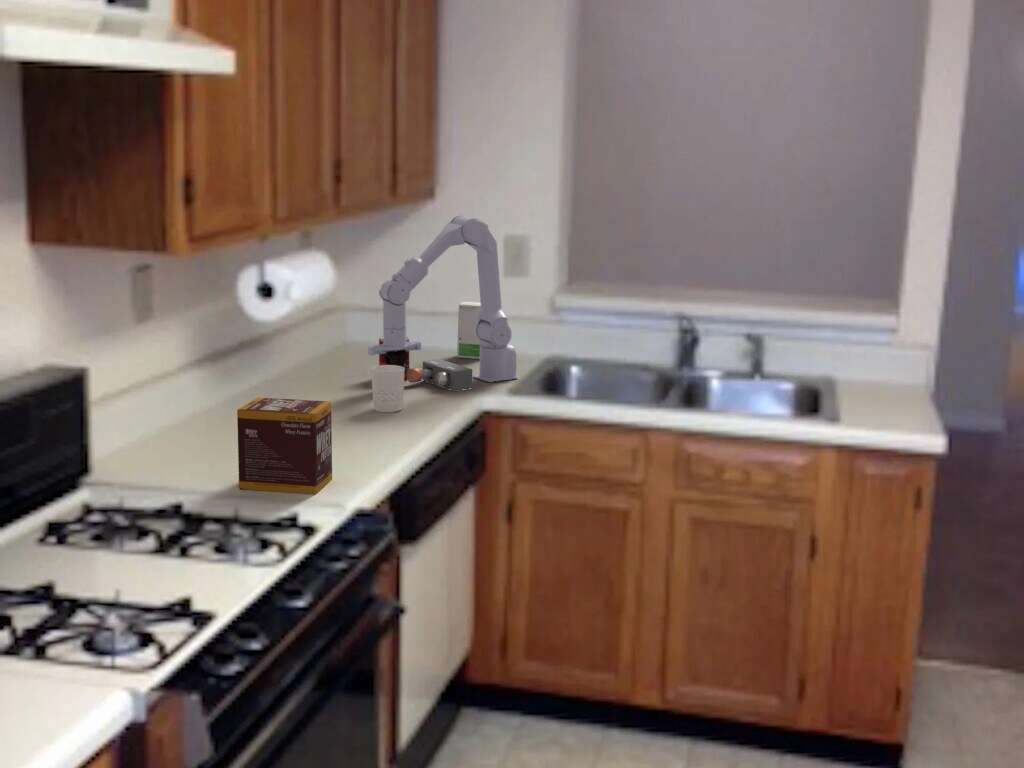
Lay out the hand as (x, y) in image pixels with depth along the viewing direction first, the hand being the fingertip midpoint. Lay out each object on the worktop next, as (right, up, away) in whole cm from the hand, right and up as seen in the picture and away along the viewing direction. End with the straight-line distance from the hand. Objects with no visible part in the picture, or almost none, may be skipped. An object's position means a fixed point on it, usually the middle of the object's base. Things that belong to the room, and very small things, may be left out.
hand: (394, 380), depth 324 cm
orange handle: (+7, 0, +5) cm, 8 cm away
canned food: (-1, 0, +12) cm, 12 cm away
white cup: (0, -7, -22) cm, 23 cm away
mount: (+13, -1, +5) cm, 14 cm away
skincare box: (+19, +7, +42) cm, 47 cm away
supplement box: (-13, -20, -82) cm, 86 cm away
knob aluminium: (+14, -1, +1) cm, 14 cm away
